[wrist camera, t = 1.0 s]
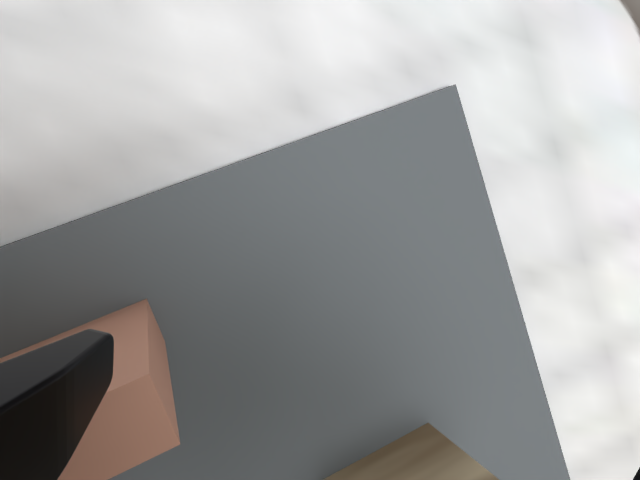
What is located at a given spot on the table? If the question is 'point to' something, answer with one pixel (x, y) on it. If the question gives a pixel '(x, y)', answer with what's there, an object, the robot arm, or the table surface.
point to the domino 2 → (416, 460)
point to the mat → (311, 303)
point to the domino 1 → (125, 398)
